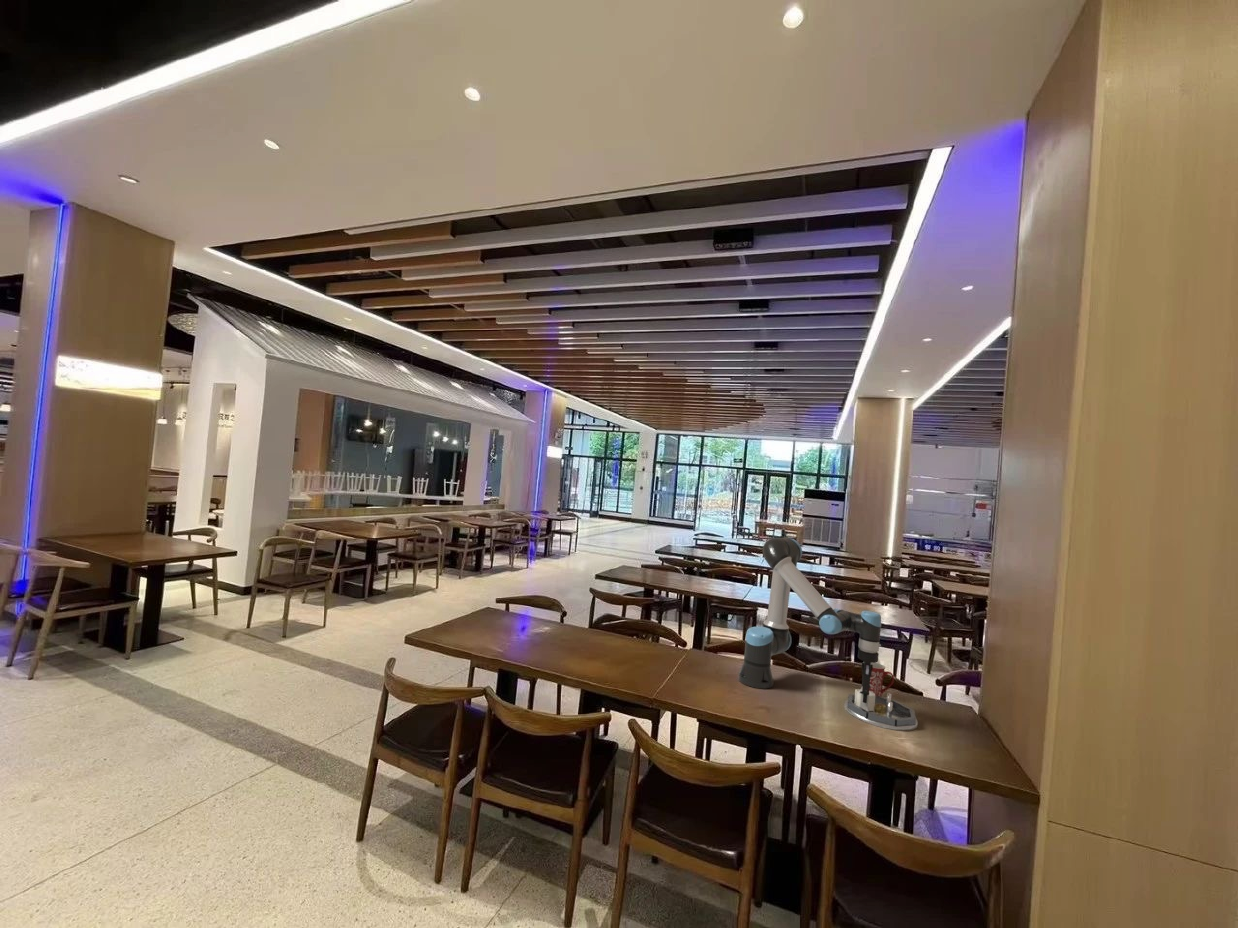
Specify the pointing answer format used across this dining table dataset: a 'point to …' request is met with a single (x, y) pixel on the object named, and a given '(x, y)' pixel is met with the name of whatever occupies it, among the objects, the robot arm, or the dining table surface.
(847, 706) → the tray
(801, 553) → the robot arm
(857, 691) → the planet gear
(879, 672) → the mug
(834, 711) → the dining table surface
